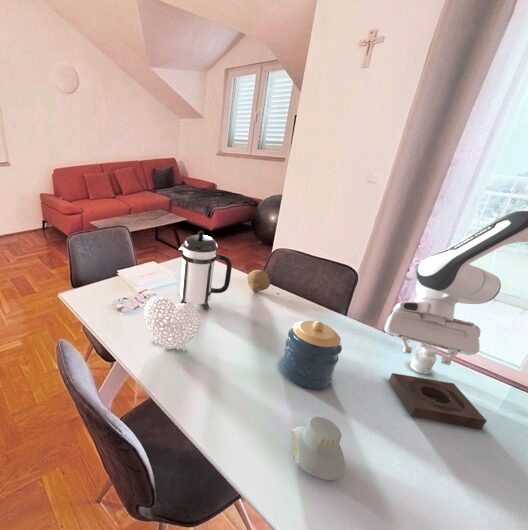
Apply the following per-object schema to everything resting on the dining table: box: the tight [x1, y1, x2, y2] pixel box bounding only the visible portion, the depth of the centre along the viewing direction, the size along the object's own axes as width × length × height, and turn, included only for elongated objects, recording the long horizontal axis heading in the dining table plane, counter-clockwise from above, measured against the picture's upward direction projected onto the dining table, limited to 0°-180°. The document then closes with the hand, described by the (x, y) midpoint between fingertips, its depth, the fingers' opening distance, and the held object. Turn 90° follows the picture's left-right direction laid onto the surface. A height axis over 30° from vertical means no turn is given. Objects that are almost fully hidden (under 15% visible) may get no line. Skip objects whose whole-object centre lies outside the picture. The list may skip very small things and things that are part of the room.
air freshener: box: [290, 416, 346, 481], centre depth 65 cm, size 11×8×10 cm
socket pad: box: [388, 372, 488, 430], centre depth 80 cm, size 14×12×3 cm
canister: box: [280, 320, 343, 390], centre depth 87 cm, size 13×13×18 cm
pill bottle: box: [410, 343, 439, 375], centre depth 90 cm, size 4×4×8 cm
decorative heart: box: [143, 296, 201, 352], centre depth 98 cm, size 18×11×17 cm, turn 60°
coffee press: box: [178, 230, 233, 310], centre depth 122 cm, size 17×16×30 cm
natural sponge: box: [247, 269, 271, 293], centre depth 133 cm, size 9×9×10 cm
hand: (425, 358), depth 90 cm, fingers open, 7 cm apart
